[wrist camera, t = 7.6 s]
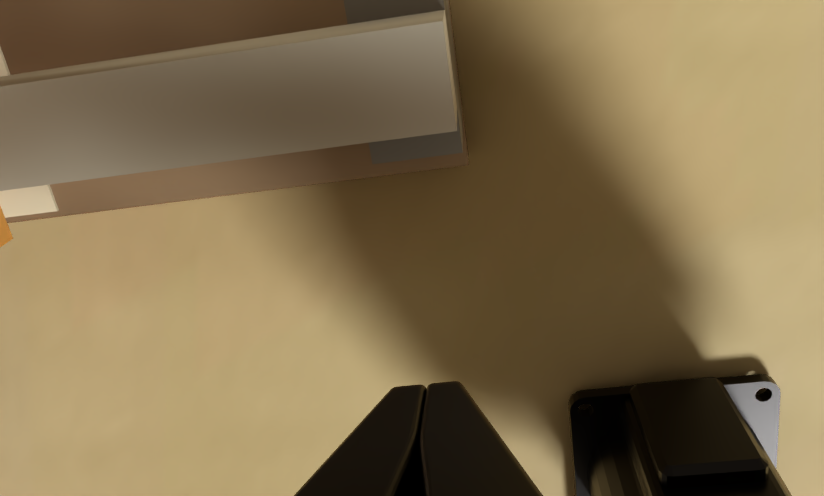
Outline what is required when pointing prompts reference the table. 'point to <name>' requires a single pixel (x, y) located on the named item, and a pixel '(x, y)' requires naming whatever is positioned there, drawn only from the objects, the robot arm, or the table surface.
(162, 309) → the table surface
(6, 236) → the collar
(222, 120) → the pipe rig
